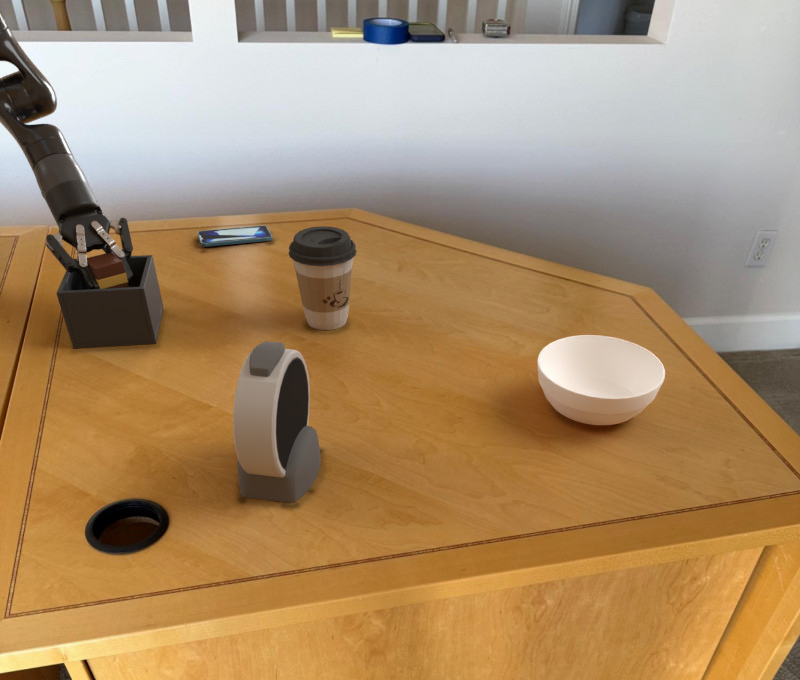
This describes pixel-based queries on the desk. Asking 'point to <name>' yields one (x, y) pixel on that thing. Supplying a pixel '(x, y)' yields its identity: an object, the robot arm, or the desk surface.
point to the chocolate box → (108, 271)
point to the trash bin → (113, 308)
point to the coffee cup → (324, 274)
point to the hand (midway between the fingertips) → (113, 286)
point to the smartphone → (234, 235)
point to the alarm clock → (274, 425)
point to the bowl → (599, 378)
